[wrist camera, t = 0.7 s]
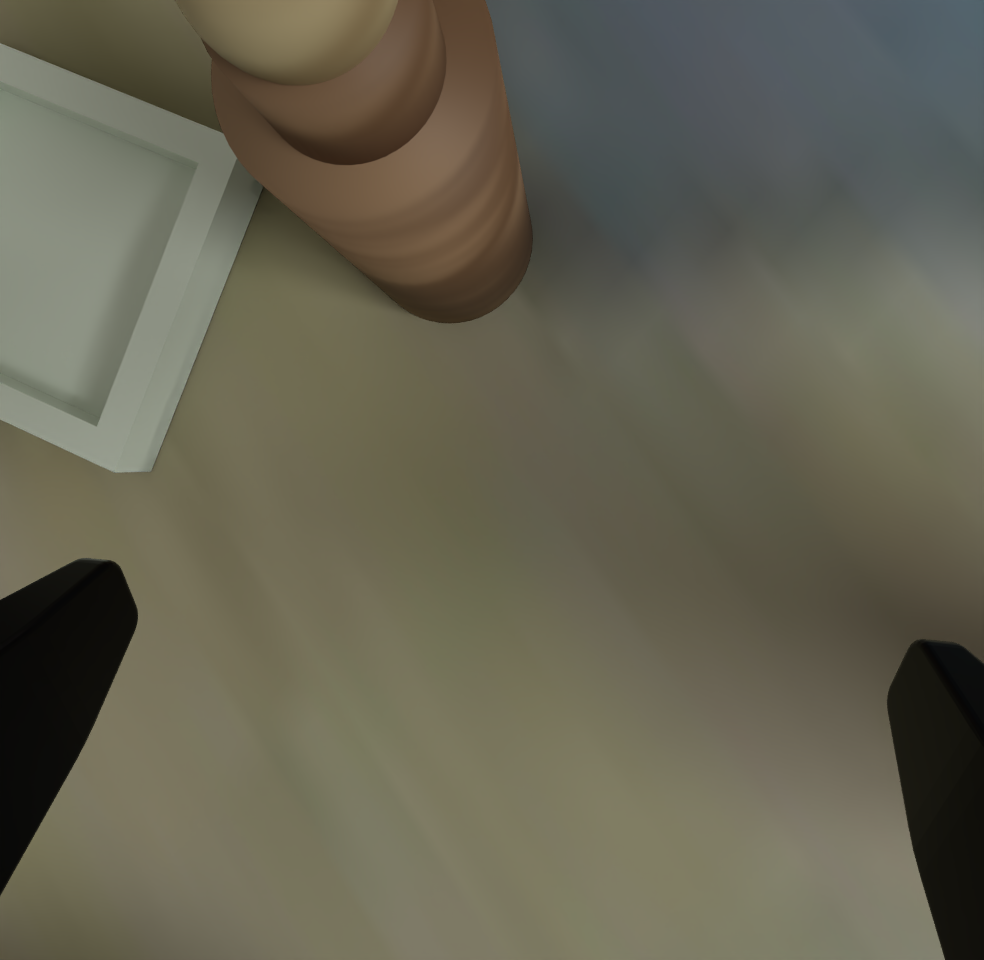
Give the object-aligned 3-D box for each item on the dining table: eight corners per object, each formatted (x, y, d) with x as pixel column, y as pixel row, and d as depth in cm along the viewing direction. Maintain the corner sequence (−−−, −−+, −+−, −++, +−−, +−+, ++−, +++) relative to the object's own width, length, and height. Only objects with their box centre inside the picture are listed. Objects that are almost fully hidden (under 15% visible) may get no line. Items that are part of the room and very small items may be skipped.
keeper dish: (151, 471, 23) (114, 472, 21) (-116, 348, 24) (-173, 339, 22) (270, 167, 22) (243, 141, 20) (-9, 53, 23) (-59, 19, 21)
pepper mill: (493, 348, 21) (341, 147, 8) (347, 287, 22) (-43, -6, 8) (558, 193, 21) (523, -308, 7) (409, 134, 21) (112, -440, 8)
